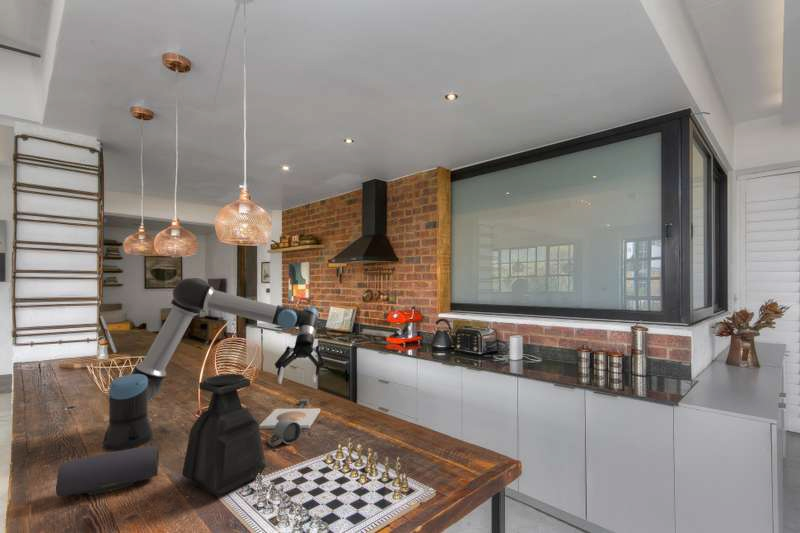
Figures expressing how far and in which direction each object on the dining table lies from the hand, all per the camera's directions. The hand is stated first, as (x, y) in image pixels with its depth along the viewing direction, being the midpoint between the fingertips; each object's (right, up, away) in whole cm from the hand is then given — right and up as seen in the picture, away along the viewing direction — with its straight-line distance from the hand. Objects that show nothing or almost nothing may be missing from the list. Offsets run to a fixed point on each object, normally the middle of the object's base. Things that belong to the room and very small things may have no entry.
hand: (296, 382), depth 155 cm
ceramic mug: (-1, -18, -12) cm, 22 cm away
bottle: (-11, -18, -39) cm, 44 cm away
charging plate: (-5, -19, +17) cm, 26 cm away
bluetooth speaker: (-42, -18, -43) cm, 62 cm away
